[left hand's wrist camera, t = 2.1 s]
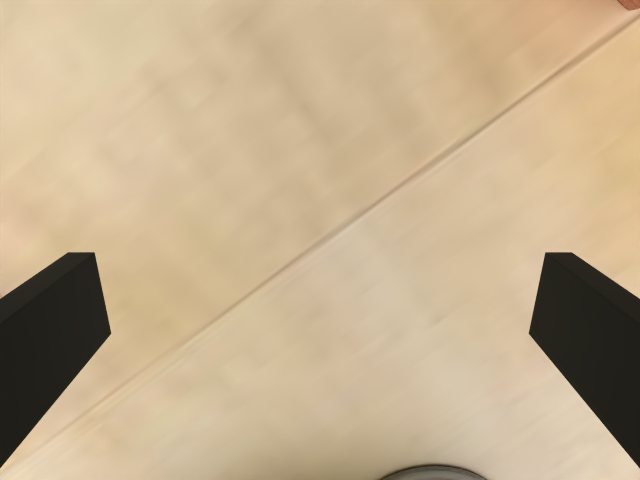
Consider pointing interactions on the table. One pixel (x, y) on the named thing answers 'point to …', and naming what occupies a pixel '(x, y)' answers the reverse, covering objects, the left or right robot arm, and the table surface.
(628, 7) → the chest
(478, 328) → the table surface
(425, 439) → the table surface
